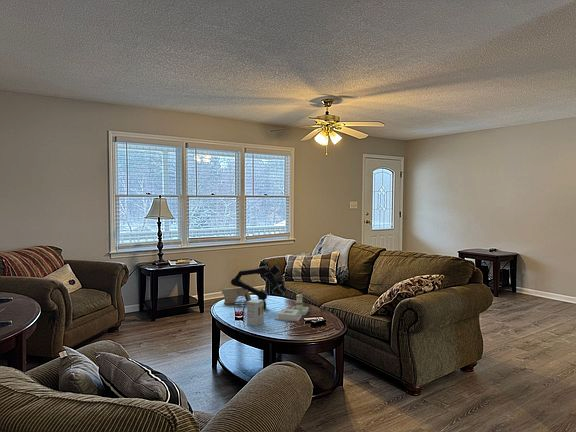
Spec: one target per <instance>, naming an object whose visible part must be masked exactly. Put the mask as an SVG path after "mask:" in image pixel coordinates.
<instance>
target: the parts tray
mask: <svg viewBox="0 0 576 432" xmlns="http://www.w3.org/2000/svg"><path fill="white" fill-rule="evenodd" d="M296 309H297V305H296V306H295V305H294V306H292V308H291V310H296ZM302 309H303V311H299V314H300V315H302V316H307V314H308V313H309V306H302Z"/></svg>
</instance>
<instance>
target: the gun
mask: <svg viewBox="0 0 576 432" xmlns="http://www.w3.org/2000/svg"><path fill="white" fill-rule="evenodd" d="M221 294H222V295H223V296H224V298H223V299H224V301H223V305H231V304H232V305H233V304H244V305H247V301H250V300H252V297H251V294H250V293H249V291H248V290H246V289H244V288H242V287H237V286H235V287H229V288H227V287H226V288H222V289H221ZM239 297H243V298H244V299H243V300H238V301H237V299H238V298H239Z"/></svg>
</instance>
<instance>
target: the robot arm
mask: <svg viewBox="0 0 576 432" xmlns="http://www.w3.org/2000/svg"><path fill="white" fill-rule="evenodd" d="M280 272H281V269H280V267H279V266H277V265H276V264H274V265H273V266H272V267H267V266H265V265H264V266H260V267H257V268H252V269H251V268H250V269H244V270H243V269H242V270H239V271H238V272H237V274H236V276H234V277H233V278H232V279H231V281H230V283H231V285H232V286H234V287H242V288H244V289H246V291H247V290H248V291H249V292H250V293H252V294H253V295H256V296H257V299H258V300H264V310H265V309H267V301H266V300H267V298H268V292H267V291H266V290H264V289H263V288H261V289H257V288H256V287H254V286H251V285H250V284H247V283H245V282H243V281H242V280H241V277H242V276H249V275H262V279H266V280H267V281H268V284H271V286H270V288H269V290H270V292H272V293H276V294H278V295H280V296H282V295H283V293H282V292H284V293H287V289H286V287H285V276H284V275H283V274H281V275H279V277H277V276H276V275H277V274H279V273H280Z"/></svg>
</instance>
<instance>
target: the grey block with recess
mask: <svg viewBox="0 0 576 432" xmlns="http://www.w3.org/2000/svg"><path fill="white" fill-rule="evenodd" d="M291 309H292V308H291ZM291 309H290V308H282V309H281V310H280V311H279V312H278V313H277V316H275V317H274V320H275V321H286V322H287V321H289V322H297V323H298V322H299V321H300V320H301V319H302V317H303V315H300V314H299V310H291Z"/></svg>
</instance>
